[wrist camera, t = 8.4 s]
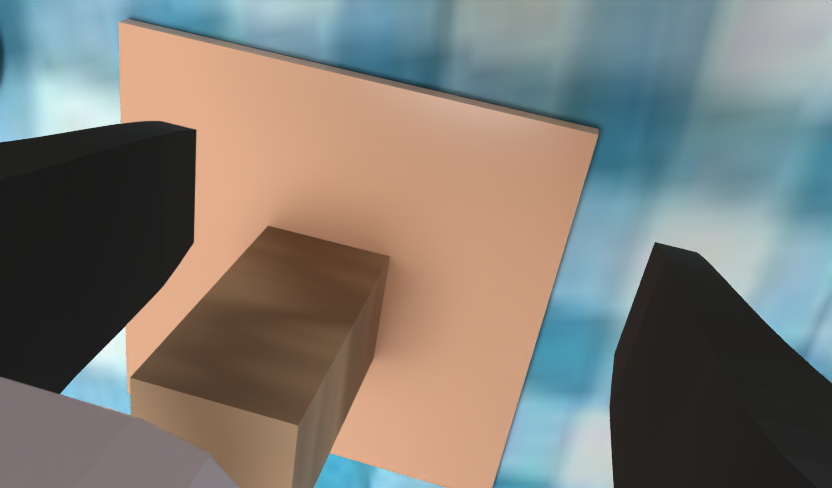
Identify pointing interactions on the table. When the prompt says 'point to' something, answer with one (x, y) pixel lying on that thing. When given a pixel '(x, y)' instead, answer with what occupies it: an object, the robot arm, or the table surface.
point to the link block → (269, 359)
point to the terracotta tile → (374, 227)
